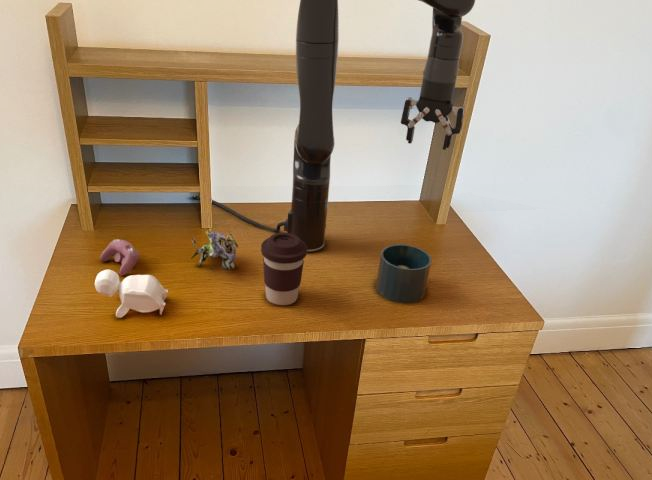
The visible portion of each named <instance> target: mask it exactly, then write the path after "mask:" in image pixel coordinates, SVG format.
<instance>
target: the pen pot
mask: <svg viewBox="0 0 652 480" xmlns="http://www.w3.org/2000/svg"><path fill="white" fill-rule="evenodd" d="M399 265H404V266H406V267H408V268H409V269H406V268H401V267H397V266H399ZM431 266H432V257H431V255H430V254H429V253H428V252H427V251H425V250H424V249H422V248H419V247H417V246H413V245H411V244H402V243H401V244H400V243H399V244H391V245H388V246H386V247H384V248H383V249H382V251H381V252H380V256H379V262H378V267H377V268H378V269H377V275H376V282H375V288H376V291H377V293H378V294H379V295H380V296H382V297H383V298H385V299H387V300H388V301H392V302H395V303H401V304H412V303H416V302H418V301H421V300H422V299H423V298H424V296H425V293H426V289H427V286H428V280H429V276H430V271H431Z"/></svg>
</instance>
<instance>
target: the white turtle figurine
mask: <svg viewBox="0 0 652 480" xmlns="http://www.w3.org/2000/svg"><path fill="white" fill-rule="evenodd" d="M119 275H120V274H119V273H117V272H115V271H114V270H112V269H109V268H108V269H104V270H101V271H100V272H99V273H97V274H96V277H95V280H94V287H95V290H96V292H97V293H98V294H100V295H104V296H107V297H110V298H111V297H113V296H114V295H115V294H116V293H117V292H118V298H119V300H120V302H121V304H120V305H119V307H117V309H116V312H115V318H118V319H121V318H123V317H124V316H126V314H128V312H129V311H130V310H133V311H136V312H139V313H152V312H155V311H157V310H159V315H162V314H163V311H164V308H165V306H166V302H165V300H166V297H167V296H168V293H169V290H168V288H167V289H166V288H164V286H163V285H162V284H161V283H160V281H159V280H158V279H157V277H156V276H154V275H152V274H132V275H128V276H126V277H125V278H123V280H122V281H120V276H119Z"/></svg>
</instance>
